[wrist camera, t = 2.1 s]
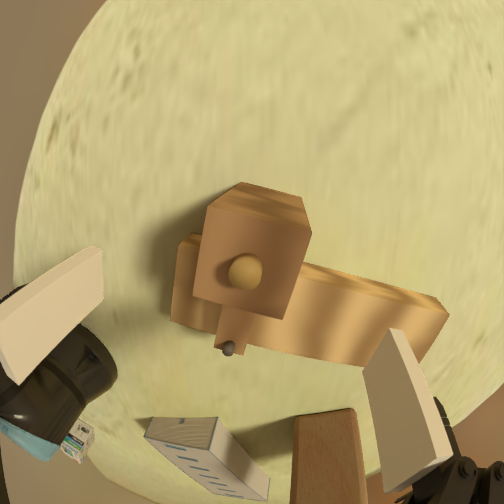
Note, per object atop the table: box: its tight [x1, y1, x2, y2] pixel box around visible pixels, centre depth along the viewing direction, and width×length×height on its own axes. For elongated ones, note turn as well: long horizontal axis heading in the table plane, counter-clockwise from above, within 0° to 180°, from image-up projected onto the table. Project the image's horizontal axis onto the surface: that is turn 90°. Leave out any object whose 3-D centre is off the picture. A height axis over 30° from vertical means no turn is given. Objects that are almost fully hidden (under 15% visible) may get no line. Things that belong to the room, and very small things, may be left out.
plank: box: [170, 233, 450, 367], centre depth 28 cm, size 30×9×4 cm, turn 77°
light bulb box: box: [61, 419, 94, 464], centre depth 49 cm, size 11×7×11 cm, turn 155°
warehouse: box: [143, 417, 270, 502], centre depth 43 cm, size 30×14×8 cm, turn 20°
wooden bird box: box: [192, 182, 312, 356], centre depth 23 cm, size 6×15×13 cm, turn 167°
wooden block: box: [290, 409, 368, 504], centre depth 29 cm, size 10×10×20 cm
